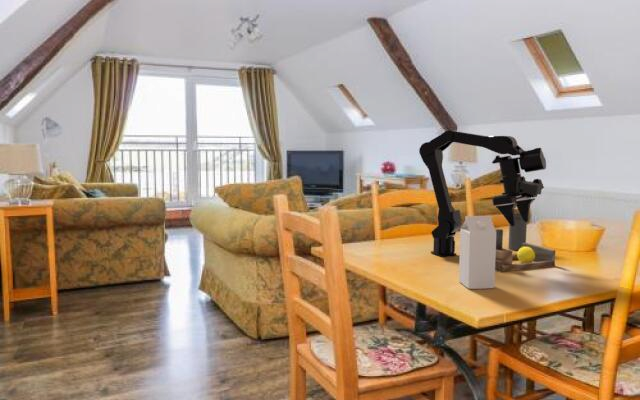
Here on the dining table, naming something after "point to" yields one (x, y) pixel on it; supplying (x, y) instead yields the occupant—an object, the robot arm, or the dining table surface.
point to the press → (542, 259)
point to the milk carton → (477, 252)
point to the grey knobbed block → (502, 249)
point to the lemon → (526, 254)
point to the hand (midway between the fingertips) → (519, 223)
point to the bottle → (517, 232)
